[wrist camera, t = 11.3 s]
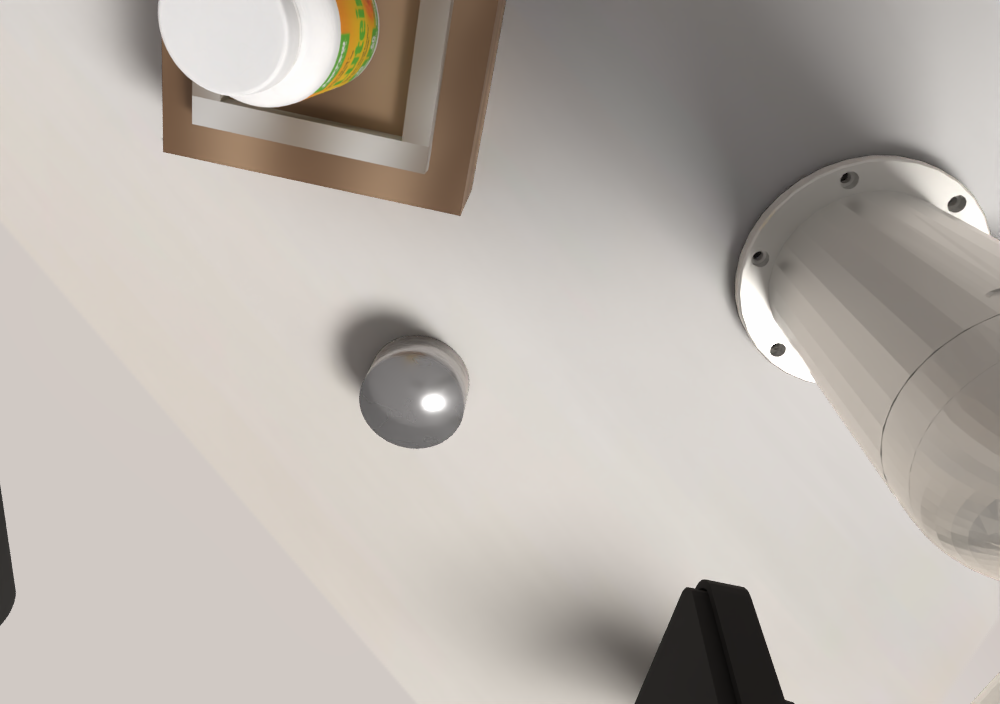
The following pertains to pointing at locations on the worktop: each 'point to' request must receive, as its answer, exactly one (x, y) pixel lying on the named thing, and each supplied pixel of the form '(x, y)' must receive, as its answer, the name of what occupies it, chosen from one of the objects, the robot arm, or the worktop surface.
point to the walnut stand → (363, 112)
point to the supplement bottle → (270, 45)
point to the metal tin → (415, 392)
